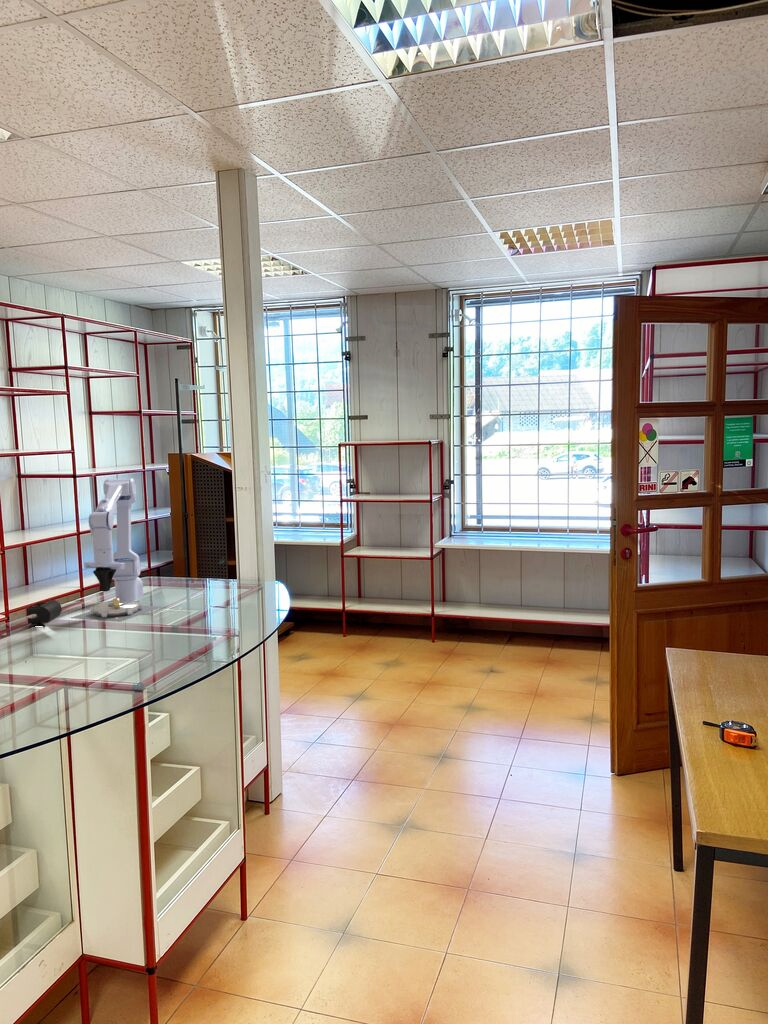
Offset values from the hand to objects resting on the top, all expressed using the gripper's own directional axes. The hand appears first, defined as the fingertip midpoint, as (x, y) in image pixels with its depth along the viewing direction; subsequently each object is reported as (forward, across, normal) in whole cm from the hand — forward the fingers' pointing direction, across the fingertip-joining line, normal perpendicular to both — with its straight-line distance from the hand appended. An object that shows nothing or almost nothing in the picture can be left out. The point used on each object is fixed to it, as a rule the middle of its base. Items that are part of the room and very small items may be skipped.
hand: (106, 590), depth 233 cm
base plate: (+9, +1, +3) cm, 10 cm away
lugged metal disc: (+8, +1, +3) cm, 9 cm away
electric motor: (+10, -16, -10) cm, 21 cm away
